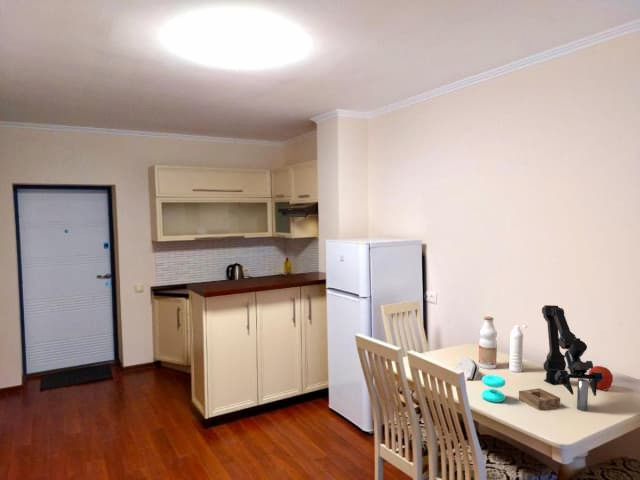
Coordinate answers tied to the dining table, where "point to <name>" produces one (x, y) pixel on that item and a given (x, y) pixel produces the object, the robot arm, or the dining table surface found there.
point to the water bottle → (516, 349)
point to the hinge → (468, 368)
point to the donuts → (491, 393)
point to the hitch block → (539, 399)
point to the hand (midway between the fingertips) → (584, 394)
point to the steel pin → (582, 395)
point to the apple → (606, 380)
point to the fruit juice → (488, 345)
